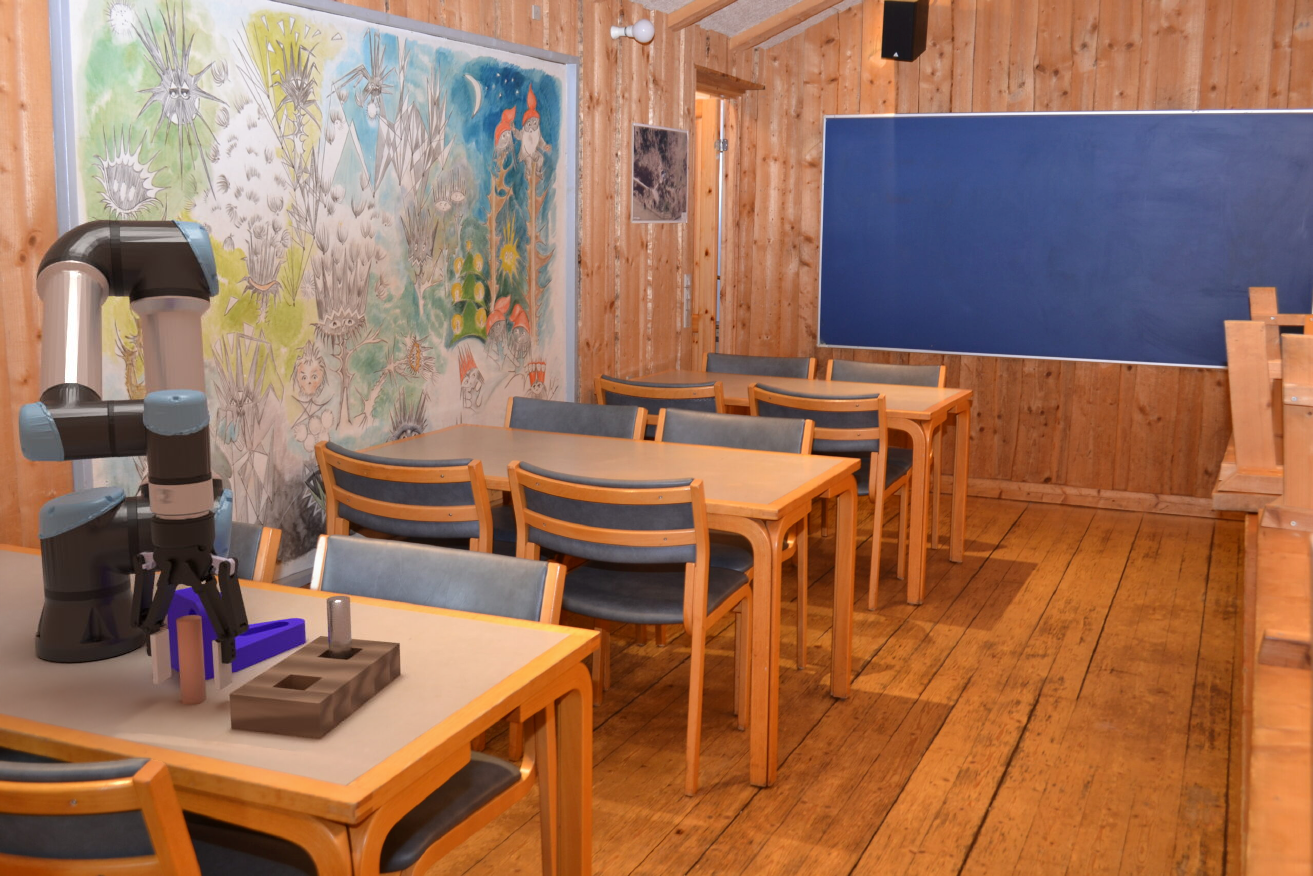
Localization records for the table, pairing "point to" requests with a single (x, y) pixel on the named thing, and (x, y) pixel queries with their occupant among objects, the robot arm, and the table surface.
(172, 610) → the bracket
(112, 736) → the table surface
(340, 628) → the grey peg
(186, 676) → the peg
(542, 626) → the table surface
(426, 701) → the table surface
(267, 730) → the hole block
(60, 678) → the table surface
